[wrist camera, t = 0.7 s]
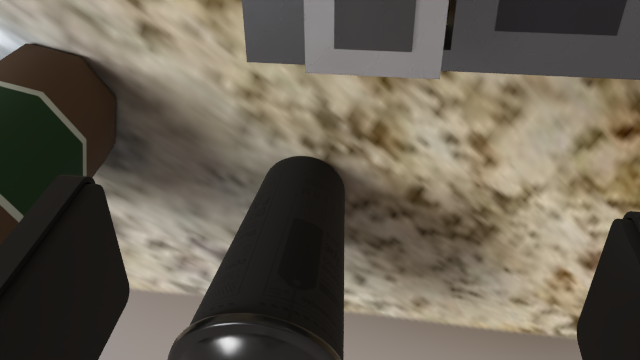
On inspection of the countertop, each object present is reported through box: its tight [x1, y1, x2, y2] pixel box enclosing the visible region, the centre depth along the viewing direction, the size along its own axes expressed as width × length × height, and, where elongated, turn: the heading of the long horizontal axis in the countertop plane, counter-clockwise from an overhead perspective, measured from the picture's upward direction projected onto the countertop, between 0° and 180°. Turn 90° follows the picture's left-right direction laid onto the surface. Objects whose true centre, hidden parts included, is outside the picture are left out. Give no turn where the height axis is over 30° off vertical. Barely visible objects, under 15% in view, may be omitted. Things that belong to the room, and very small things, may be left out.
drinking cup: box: [168, 156, 345, 360], centre depth 28 cm, size 8×8×20 cm
